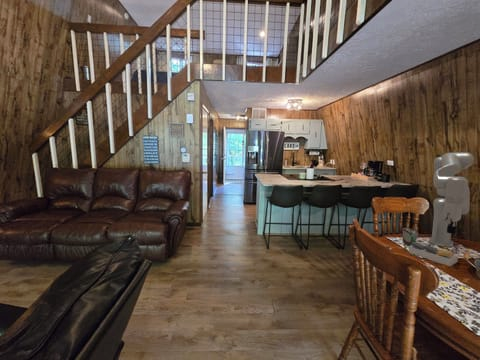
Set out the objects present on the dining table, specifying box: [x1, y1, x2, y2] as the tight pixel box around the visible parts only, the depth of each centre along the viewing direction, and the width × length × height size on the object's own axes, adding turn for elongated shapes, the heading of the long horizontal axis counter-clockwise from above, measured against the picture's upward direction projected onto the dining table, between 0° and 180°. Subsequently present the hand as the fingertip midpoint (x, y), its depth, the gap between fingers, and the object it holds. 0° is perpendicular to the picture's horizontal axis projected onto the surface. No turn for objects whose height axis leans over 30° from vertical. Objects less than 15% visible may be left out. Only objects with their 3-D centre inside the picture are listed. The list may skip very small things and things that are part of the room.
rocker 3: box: [437, 249, 454, 257], centre depth 126 cm, size 4×6×2 cm
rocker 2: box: [423, 244, 439, 254], centre depth 132 cm, size 4×6×2 cm
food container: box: [402, 227, 419, 247], centre depth 151 cm, size 12×6×10 cm, turn 168°
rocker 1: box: [411, 241, 425, 249], centre depth 138 cm, size 4×6×2 cm
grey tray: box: [408, 246, 459, 267], centre depth 134 cm, size 10×20×4 cm, turn 30°
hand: (451, 233), depth 123 cm, fingers closed
